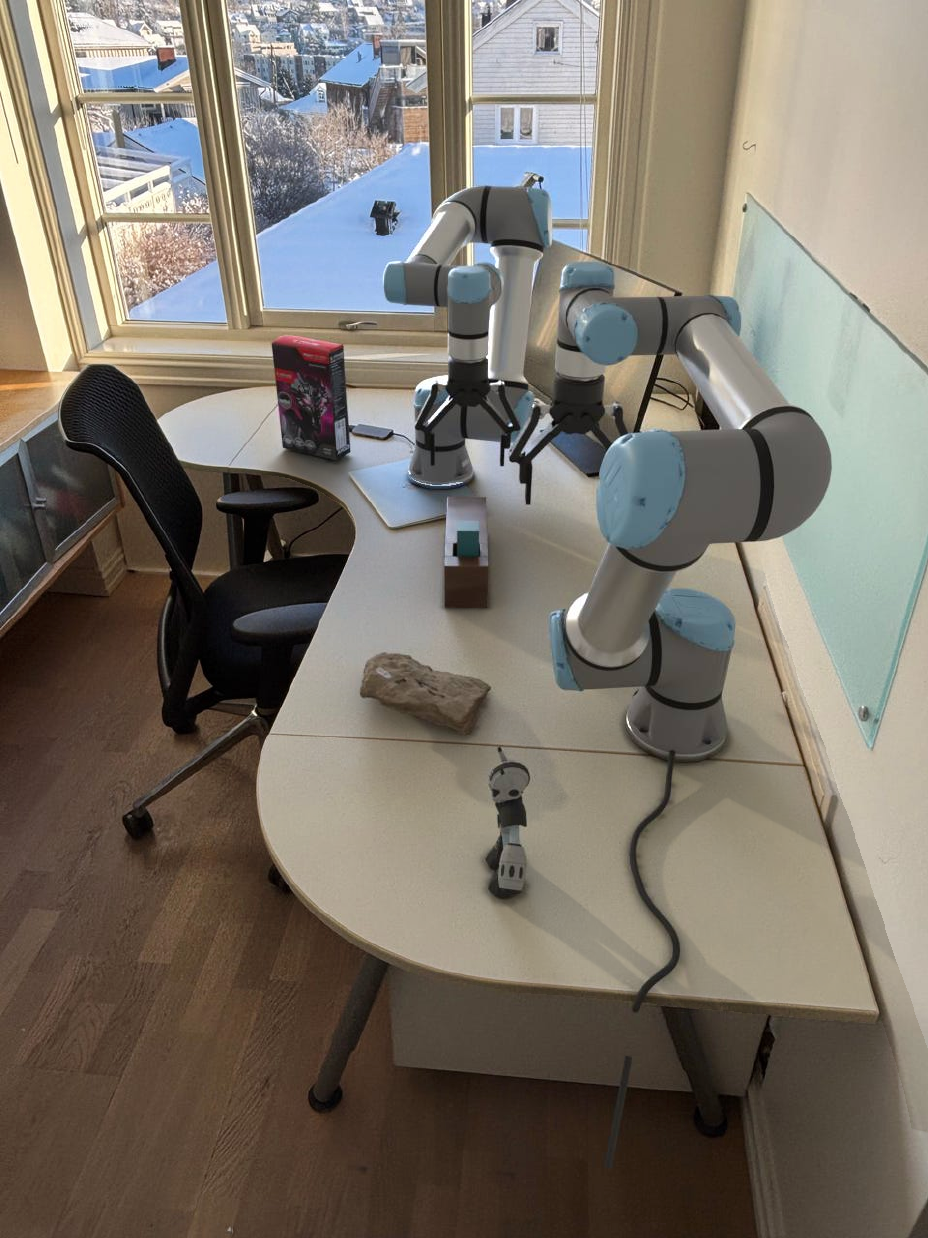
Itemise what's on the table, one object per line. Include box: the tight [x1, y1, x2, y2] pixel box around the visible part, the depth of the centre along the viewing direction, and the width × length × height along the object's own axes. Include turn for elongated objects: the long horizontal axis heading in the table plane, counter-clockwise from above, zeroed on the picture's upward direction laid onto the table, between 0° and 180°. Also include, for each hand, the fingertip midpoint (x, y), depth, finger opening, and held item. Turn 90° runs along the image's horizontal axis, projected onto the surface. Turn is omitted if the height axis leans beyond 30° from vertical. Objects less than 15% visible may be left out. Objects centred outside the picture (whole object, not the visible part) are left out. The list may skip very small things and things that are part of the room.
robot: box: [485, 746, 531, 899], centre depth 114 cm, size 20×5×20 cm, turn 3°
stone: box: [359, 651, 492, 735], centre depth 146 cm, size 21×15×6 cm
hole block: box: [443, 496, 490, 609], centre depth 181 cm, size 28×8×9 cm, turn 0°
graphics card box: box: [271, 334, 351, 461], centre depth 223 cm, size 17×7×27 cm, turn 62°
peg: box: [457, 521, 479, 557], centre depth 173 cm, size 4×4×14 cm
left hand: (467, 463), depth 181 cm, fingers open, 13 cm apart
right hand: (569, 501), depth 149 cm, fingers open, 13 cm apart
